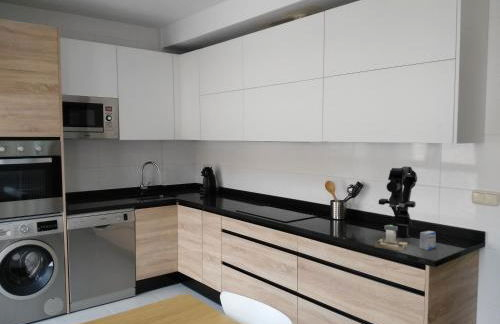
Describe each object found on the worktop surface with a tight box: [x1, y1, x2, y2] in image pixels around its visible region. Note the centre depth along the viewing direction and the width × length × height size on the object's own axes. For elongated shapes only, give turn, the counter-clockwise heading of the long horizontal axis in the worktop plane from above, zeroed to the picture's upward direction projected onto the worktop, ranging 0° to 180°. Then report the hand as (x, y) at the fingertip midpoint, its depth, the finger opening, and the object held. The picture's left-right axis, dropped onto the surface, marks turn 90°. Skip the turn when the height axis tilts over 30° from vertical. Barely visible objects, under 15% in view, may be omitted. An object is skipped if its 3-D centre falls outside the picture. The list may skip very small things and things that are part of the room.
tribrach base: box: [374, 236, 409, 252], centre depth 205 cm, size 12×14×5 cm
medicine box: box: [419, 230, 437, 251], centre depth 203 cm, size 8×4×9 cm, turn 126°
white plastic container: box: [384, 224, 398, 242], centre depth 203 cm, size 5×6×9 cm
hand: (396, 218), depth 216 cm, fingers closed
